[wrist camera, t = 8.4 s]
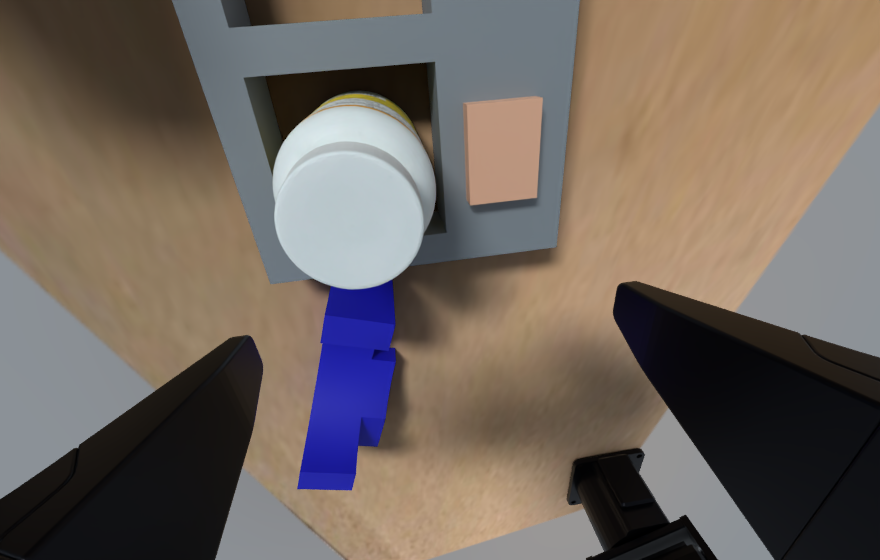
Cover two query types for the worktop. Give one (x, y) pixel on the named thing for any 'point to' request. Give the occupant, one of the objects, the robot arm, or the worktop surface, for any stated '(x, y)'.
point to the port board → (451, 107)
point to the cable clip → (349, 385)
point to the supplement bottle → (353, 191)
